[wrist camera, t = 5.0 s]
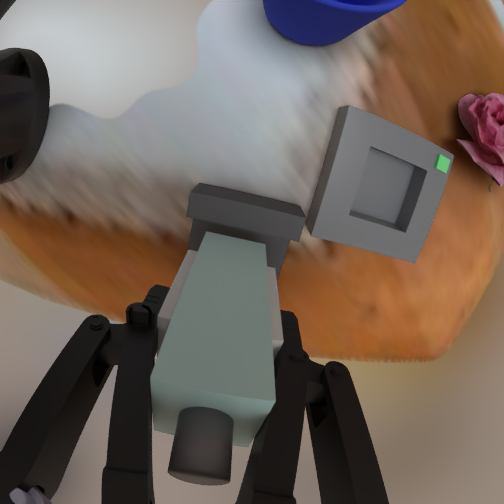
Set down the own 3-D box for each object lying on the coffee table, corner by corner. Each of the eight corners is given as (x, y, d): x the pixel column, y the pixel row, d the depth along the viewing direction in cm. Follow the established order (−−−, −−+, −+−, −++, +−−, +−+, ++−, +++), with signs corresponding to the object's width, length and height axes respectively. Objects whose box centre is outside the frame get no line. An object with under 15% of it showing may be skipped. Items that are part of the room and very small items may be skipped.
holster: (185, 277, 25) (175, 300, 22) (201, 181, 22) (190, 191, 18) (270, 296, 26) (271, 320, 23) (299, 204, 22) (306, 218, 19)
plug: (197, 281, 20) (142, 477, 7) (206, 231, 18) (130, 442, 5) (251, 292, 20) (247, 495, 8) (265, 244, 19) (279, 466, 6)
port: (305, 224, 23) (311, 238, 20) (339, 107, 19) (351, 105, 16) (402, 250, 24) (416, 265, 21) (437, 151, 20) (457, 156, 17)
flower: (428, 97, 20) (493, 47, 11) (482, 142, 22) (541, 111, 12) (441, 196, 18) (541, 155, 8) (494, 233, 20) (571, 213, 10)
